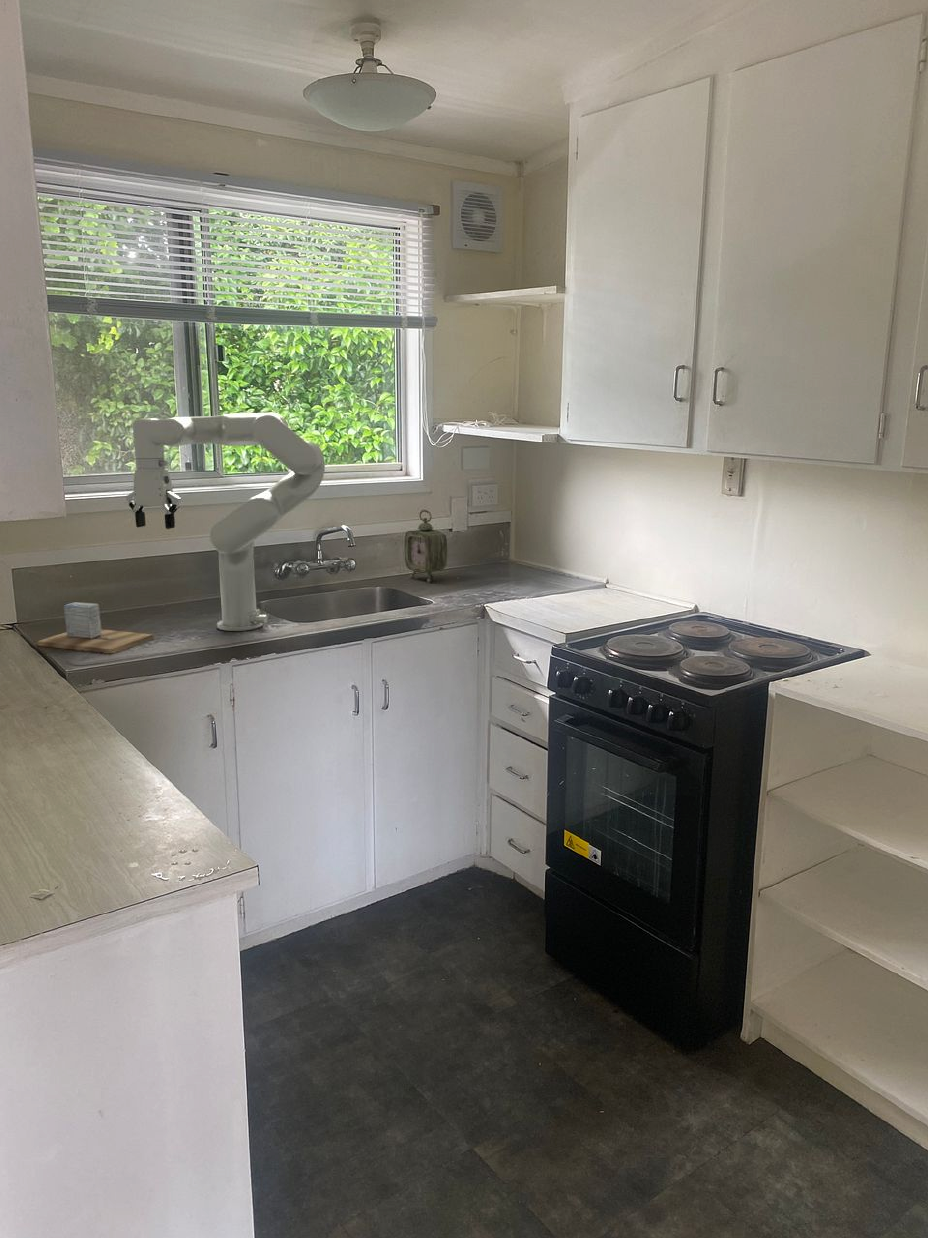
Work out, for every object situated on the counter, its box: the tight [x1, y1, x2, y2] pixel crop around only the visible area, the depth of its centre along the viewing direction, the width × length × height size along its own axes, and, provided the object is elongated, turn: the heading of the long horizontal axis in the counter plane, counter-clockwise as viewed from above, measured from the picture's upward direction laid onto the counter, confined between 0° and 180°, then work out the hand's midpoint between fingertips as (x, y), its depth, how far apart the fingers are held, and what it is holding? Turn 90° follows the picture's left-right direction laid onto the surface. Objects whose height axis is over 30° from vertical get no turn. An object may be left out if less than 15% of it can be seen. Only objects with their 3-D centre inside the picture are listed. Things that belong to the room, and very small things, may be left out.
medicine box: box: [63, 601, 102, 639], centre depth 245 cm, size 8×4×9 cm, turn 72°
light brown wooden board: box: [37, 628, 155, 654], centre depth 245 cm, size 24×16×1 cm, turn 70°
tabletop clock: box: [404, 509, 448, 584], centre depth 327 cm, size 14×9×25 cm, turn 37°
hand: (155, 527), depth 255 cm, fingers open, 9 cm apart
